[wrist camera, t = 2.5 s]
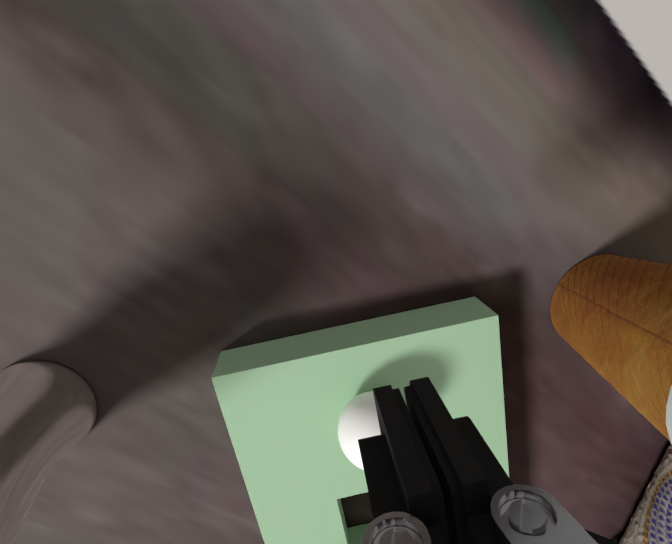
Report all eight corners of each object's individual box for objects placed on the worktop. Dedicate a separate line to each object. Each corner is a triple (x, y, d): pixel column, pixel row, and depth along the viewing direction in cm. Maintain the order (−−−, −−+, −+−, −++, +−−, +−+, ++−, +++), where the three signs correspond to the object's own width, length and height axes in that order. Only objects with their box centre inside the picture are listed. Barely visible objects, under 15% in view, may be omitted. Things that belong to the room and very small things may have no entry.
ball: (327, 385, 22) (335, 433, 19) (397, 369, 23) (419, 414, 19) (340, 443, 24) (350, 499, 20) (407, 428, 24) (428, 481, 20)
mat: (220, 351, 24) (146, 558, 12) (474, 296, 25) (653, 439, 13) (292, 583, 30) (291, 880, 18) (495, 534, 31) (628, 787, 19)
